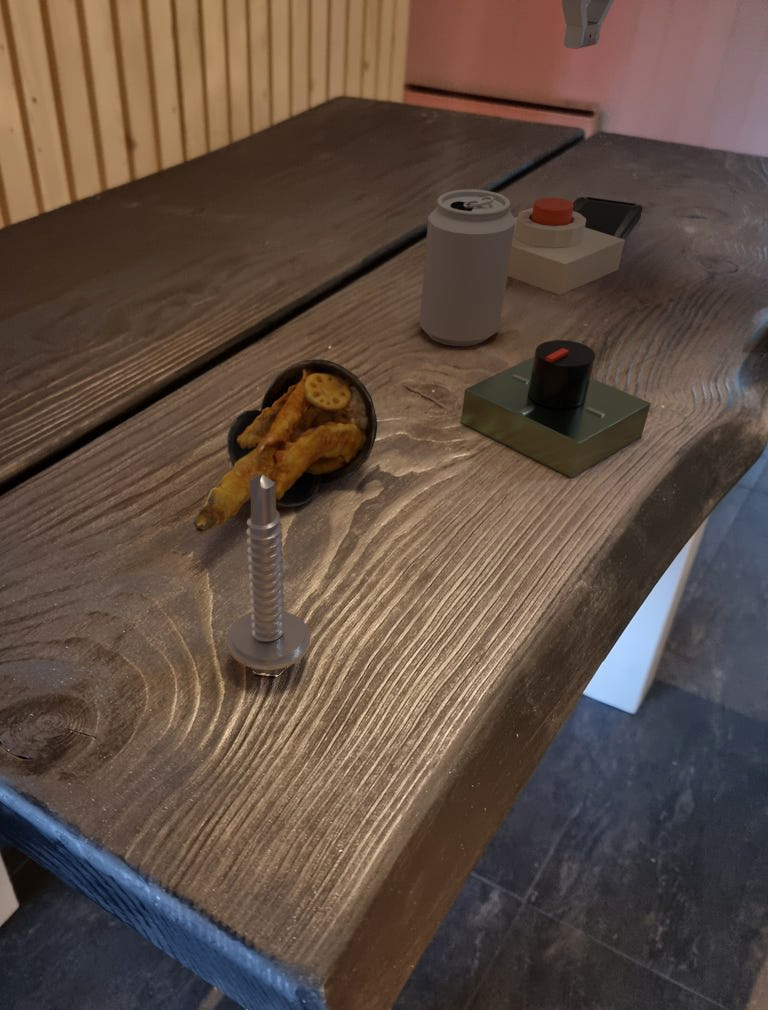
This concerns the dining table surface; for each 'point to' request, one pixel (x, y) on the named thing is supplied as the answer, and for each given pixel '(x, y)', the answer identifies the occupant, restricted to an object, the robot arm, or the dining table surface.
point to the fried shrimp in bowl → (296, 439)
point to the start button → (552, 211)
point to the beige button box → (561, 253)
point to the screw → (266, 594)
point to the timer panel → (554, 420)
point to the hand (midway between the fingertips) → (580, 46)
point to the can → (466, 266)
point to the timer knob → (561, 374)
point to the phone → (608, 215)
